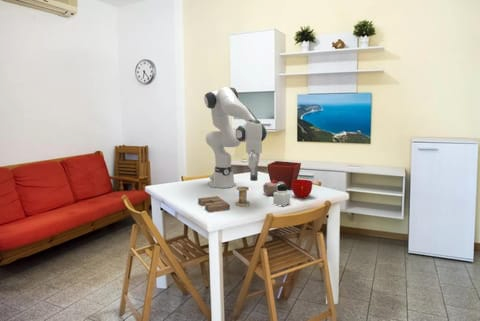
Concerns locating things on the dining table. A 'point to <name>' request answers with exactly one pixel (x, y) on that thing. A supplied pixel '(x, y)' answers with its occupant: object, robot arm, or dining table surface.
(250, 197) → the dining table surface
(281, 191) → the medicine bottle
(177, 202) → the dining table surface
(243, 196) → the tan spool
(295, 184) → the ceramic cup
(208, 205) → the notch board
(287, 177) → the plant pot
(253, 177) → the gold lidded spice jar
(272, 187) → the food item
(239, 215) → the dining table surface
